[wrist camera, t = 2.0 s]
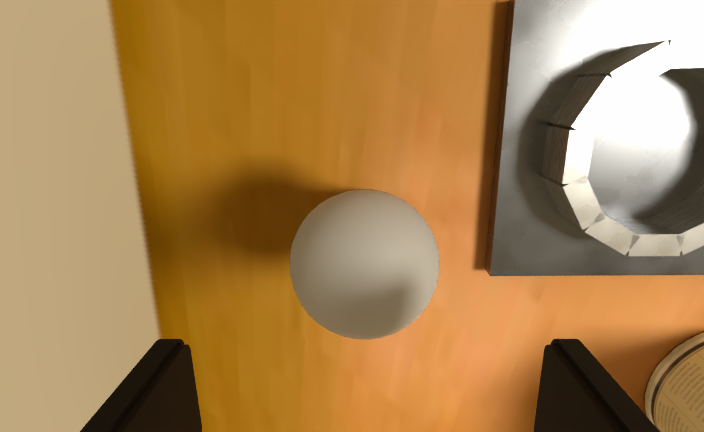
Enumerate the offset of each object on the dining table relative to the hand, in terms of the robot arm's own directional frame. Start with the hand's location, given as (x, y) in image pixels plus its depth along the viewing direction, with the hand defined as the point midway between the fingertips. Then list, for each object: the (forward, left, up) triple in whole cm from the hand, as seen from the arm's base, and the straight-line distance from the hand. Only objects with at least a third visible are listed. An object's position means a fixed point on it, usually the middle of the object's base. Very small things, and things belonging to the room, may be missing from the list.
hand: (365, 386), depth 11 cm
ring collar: (-4, +15, -15) cm, 21 cm away
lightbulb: (-1, 0, -15) cm, 15 cm away
